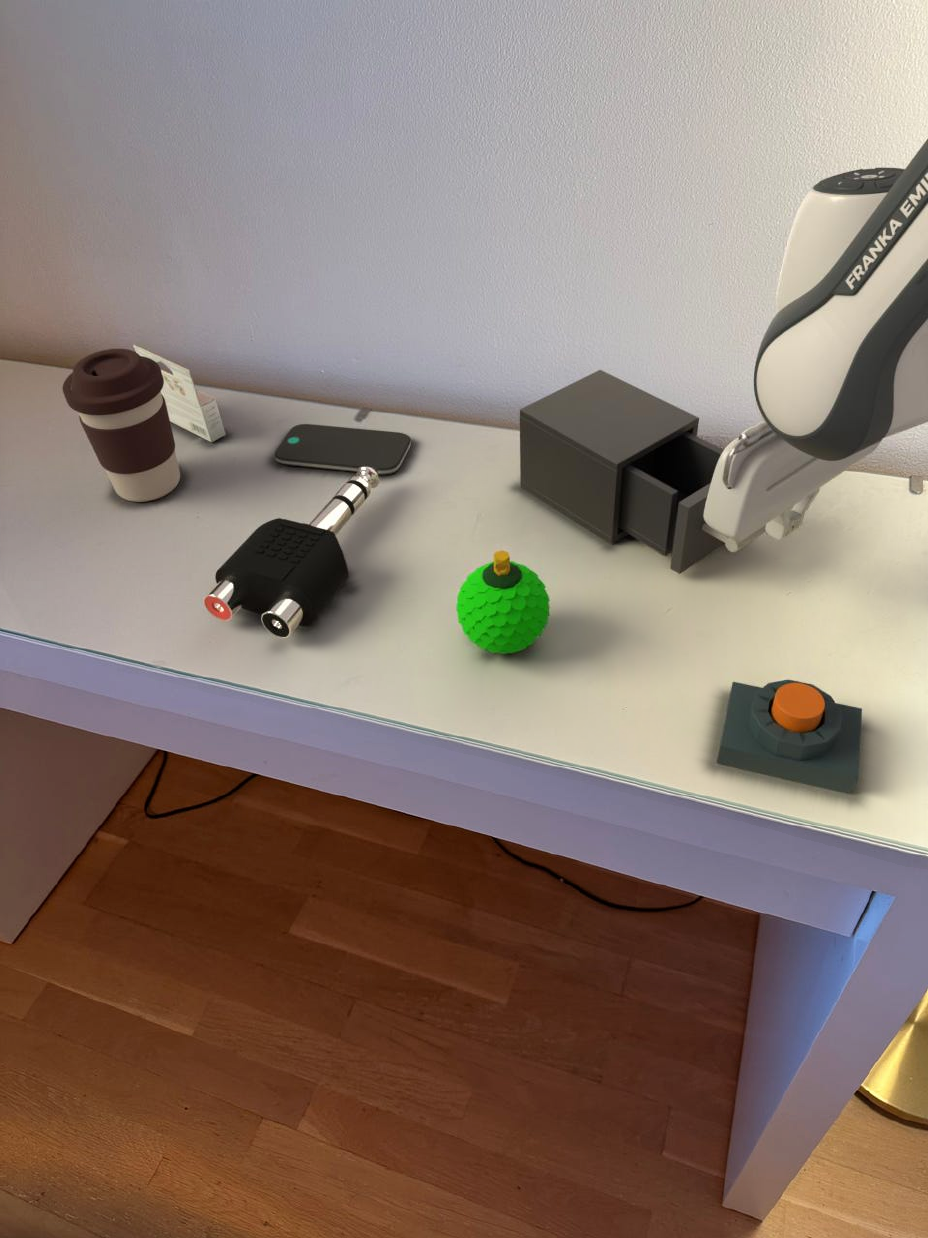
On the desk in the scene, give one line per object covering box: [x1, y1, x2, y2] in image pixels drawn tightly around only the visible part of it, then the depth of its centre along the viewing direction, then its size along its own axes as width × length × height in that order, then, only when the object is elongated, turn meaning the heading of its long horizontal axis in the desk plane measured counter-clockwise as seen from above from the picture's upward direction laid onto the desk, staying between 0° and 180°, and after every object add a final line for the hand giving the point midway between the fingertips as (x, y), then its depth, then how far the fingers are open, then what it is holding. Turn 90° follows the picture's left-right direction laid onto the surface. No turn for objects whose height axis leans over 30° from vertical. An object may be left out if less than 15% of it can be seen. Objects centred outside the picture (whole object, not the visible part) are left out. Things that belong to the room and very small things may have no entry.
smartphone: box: [274, 423, 412, 475], centre depth 107 cm, size 8×1×15 cm
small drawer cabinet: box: [519, 369, 700, 545], centre depth 96 cm, size 14×12×10 cm
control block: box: [716, 679, 863, 795], centre depth 72 cm, size 10×7×4 cm
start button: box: [771, 683, 825, 733], centre depth 71 cm, size 4×4×2 cm
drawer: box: [618, 431, 766, 575], centre depth 90 cm, size 17×10×8 cm, turn 40°
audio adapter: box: [203, 466, 380, 639], centre depth 92 cm, size 11×5×25 cm
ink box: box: [132, 344, 226, 443], centre depth 110 cm, size 2×11×10 cm, turn 50°
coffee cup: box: [61, 348, 181, 503], centre depth 100 cm, size 10×10×15 cm
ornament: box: [455, 549, 551, 655], centre depth 80 cm, size 8×8×10 cm
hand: (782, 530), depth 82 cm, fingers closed
